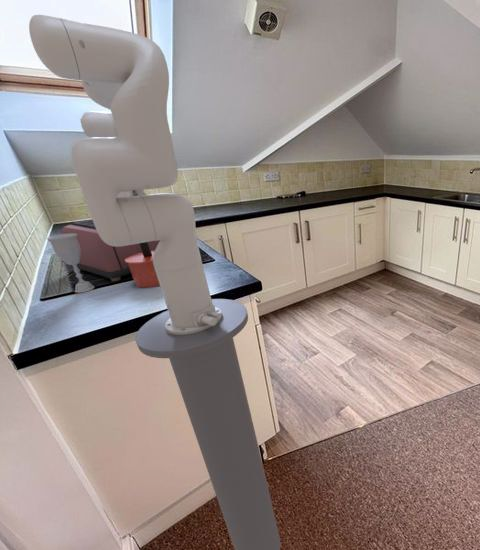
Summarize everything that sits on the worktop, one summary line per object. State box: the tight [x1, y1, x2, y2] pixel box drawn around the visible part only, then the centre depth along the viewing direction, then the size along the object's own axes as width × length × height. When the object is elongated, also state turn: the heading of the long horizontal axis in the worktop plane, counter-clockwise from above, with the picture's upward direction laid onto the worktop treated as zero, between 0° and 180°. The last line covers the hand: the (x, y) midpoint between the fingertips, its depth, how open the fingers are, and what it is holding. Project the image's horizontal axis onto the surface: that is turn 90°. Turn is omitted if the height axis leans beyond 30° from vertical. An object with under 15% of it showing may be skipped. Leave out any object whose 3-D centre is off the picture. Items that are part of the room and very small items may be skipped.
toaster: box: [60, 219, 160, 282], centre depth 120 cm, size 31×36×18 cm
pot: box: [128, 262, 160, 288], centre depth 102 cm, size 12×12×8 cm
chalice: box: [46, 233, 96, 294], centre depth 95 cm, size 7×7×18 cm
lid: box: [125, 242, 155, 264], centre depth 99 cm, size 13×13×7 cm
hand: (135, 220), depth 95 cm, fingers open, 9 cm apart
